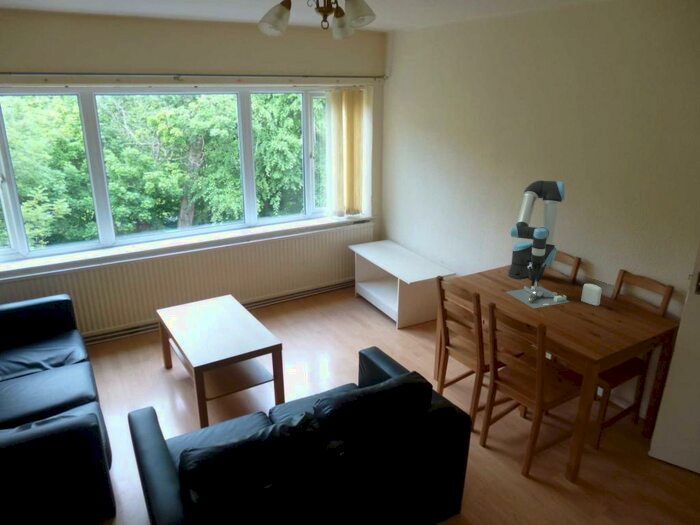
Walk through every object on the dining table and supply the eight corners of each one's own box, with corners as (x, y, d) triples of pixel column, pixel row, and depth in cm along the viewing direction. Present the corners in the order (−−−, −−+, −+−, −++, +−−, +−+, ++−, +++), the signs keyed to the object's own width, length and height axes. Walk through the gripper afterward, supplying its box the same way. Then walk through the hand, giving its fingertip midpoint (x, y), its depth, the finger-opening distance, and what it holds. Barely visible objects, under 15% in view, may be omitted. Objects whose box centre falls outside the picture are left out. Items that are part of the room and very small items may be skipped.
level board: (539, 287, 316) (540, 281, 314) (569, 303, 293) (570, 296, 291) (505, 293, 308) (506, 286, 306) (533, 310, 284) (534, 302, 283)
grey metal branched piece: (538, 286, 314) (538, 281, 313) (559, 297, 297) (560, 292, 296) (509, 291, 307) (509, 286, 306) (529, 303, 290) (530, 298, 289)
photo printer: (579, 302, 294) (582, 283, 290) (583, 300, 296) (586, 281, 292) (596, 308, 286) (600, 288, 282) (600, 306, 289) (603, 286, 285)
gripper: (542, 251, 303) (538, 287, 311) (524, 253, 299) (520, 290, 307) (551, 254, 296) (546, 291, 304) (533, 257, 292) (529, 294, 300)
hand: (533, 290), depth 305 cm, fingers closed
